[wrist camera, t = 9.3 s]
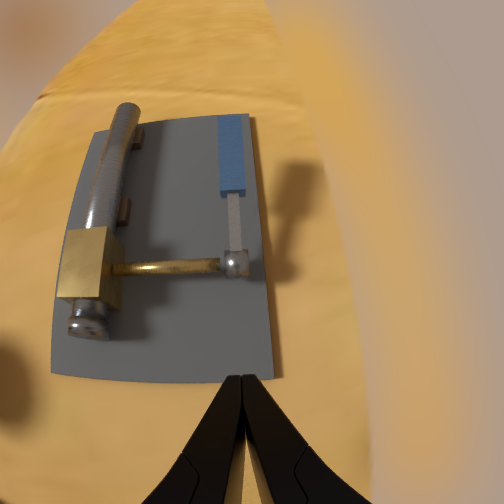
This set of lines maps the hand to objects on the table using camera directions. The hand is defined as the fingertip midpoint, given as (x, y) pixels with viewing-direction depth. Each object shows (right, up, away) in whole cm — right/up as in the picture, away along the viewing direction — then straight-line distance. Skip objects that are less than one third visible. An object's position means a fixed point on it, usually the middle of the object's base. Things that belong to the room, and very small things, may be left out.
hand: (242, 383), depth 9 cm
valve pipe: (-8, +8, +16) cm, 20 cm away
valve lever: (-1, +3, +12) cm, 13 cm away
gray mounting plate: (-8, +6, +16) cm, 19 cm away
